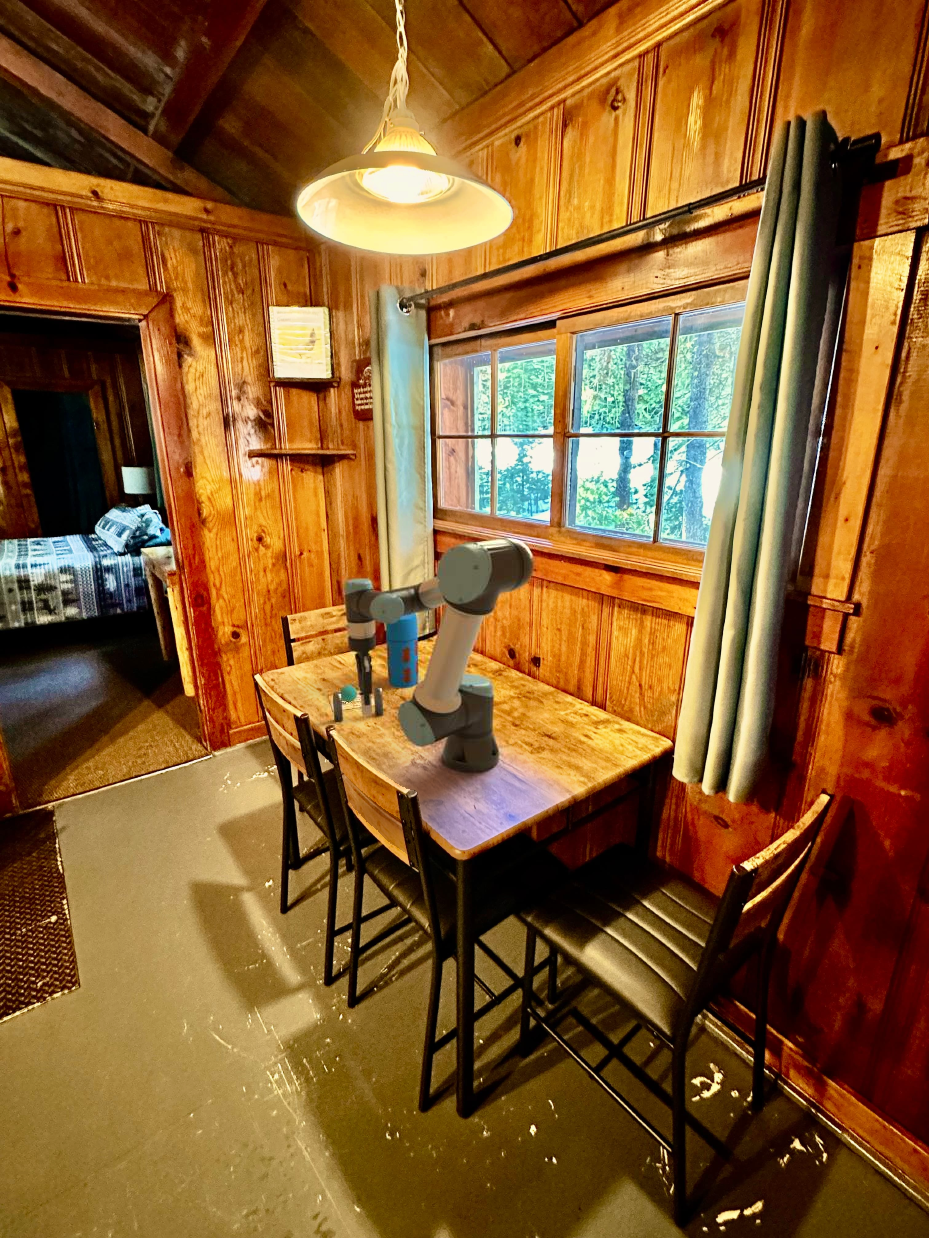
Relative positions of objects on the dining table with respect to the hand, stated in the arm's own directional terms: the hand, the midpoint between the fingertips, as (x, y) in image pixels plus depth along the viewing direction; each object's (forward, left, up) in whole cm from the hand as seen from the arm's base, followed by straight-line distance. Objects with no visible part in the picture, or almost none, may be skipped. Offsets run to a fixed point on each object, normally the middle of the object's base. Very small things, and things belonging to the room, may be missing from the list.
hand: (367, 713), depth 164 cm
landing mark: (+28, 0, -7) cm, 29 cm away
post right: (+14, -6, -7) cm, 17 cm away
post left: (+14, +7, -7) cm, 17 cm away
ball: (+27, +1, -5) cm, 27 cm away
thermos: (+37, -20, -8) cm, 42 cm away
